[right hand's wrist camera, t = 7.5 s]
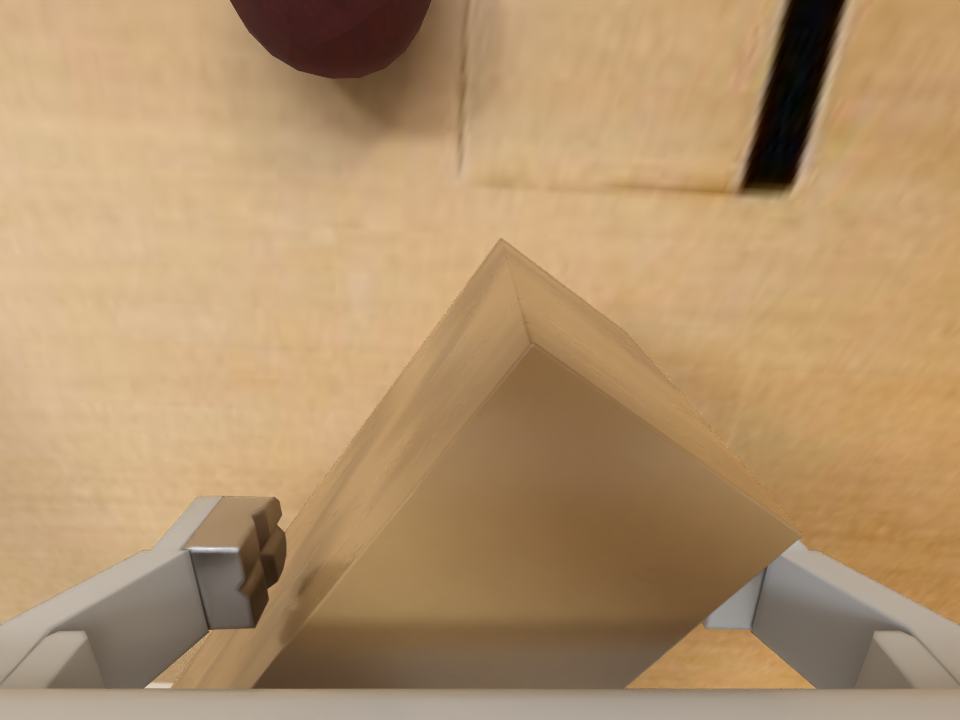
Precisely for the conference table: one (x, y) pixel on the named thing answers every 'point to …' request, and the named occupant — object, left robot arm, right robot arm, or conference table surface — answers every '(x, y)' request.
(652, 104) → the conference table surface
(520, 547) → the bar
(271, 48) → the dark red ball
